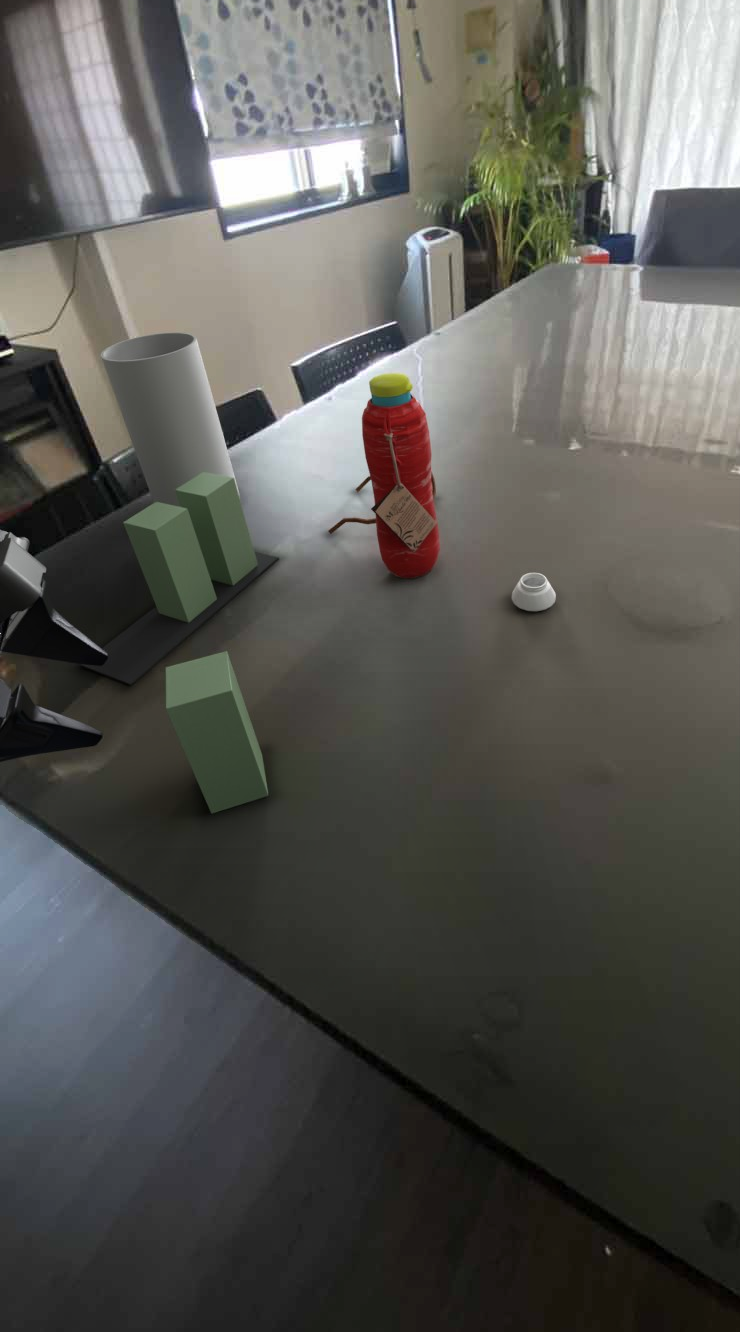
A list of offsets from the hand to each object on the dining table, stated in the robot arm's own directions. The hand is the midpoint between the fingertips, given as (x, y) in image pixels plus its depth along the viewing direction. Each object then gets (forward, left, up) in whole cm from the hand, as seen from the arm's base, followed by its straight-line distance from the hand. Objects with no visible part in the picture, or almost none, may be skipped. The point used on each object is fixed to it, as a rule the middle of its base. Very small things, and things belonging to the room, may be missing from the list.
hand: (103, 697), depth 53 cm
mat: (+19, +22, -13) cm, 32 cm away
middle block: (+19, +22, -13) cm, 32 cm away
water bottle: (+40, +3, -14) cm, 42 cm away
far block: (+27, +23, -13) cm, 38 cm away
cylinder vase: (+37, +43, -14) cm, 58 cm away
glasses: (+50, +16, -14) cm, 54 cm away
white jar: (+43, -13, -14) cm, 47 cm away
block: (+6, -4, -13) cm, 15 cm away
